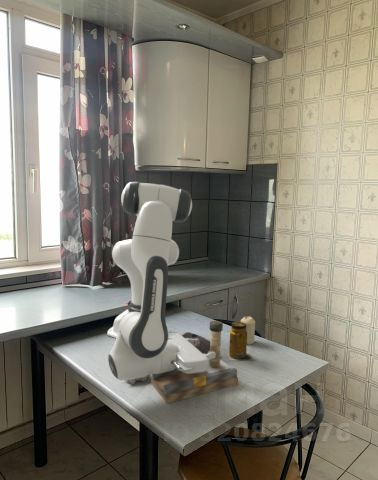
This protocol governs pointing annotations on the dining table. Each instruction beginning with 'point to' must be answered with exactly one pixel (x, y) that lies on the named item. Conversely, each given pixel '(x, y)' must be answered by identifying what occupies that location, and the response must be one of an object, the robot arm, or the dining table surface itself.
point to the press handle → (216, 349)
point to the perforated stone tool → (204, 343)
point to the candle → (249, 329)
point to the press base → (191, 383)
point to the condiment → (238, 342)
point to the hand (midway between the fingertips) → (206, 347)
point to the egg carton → (137, 379)
